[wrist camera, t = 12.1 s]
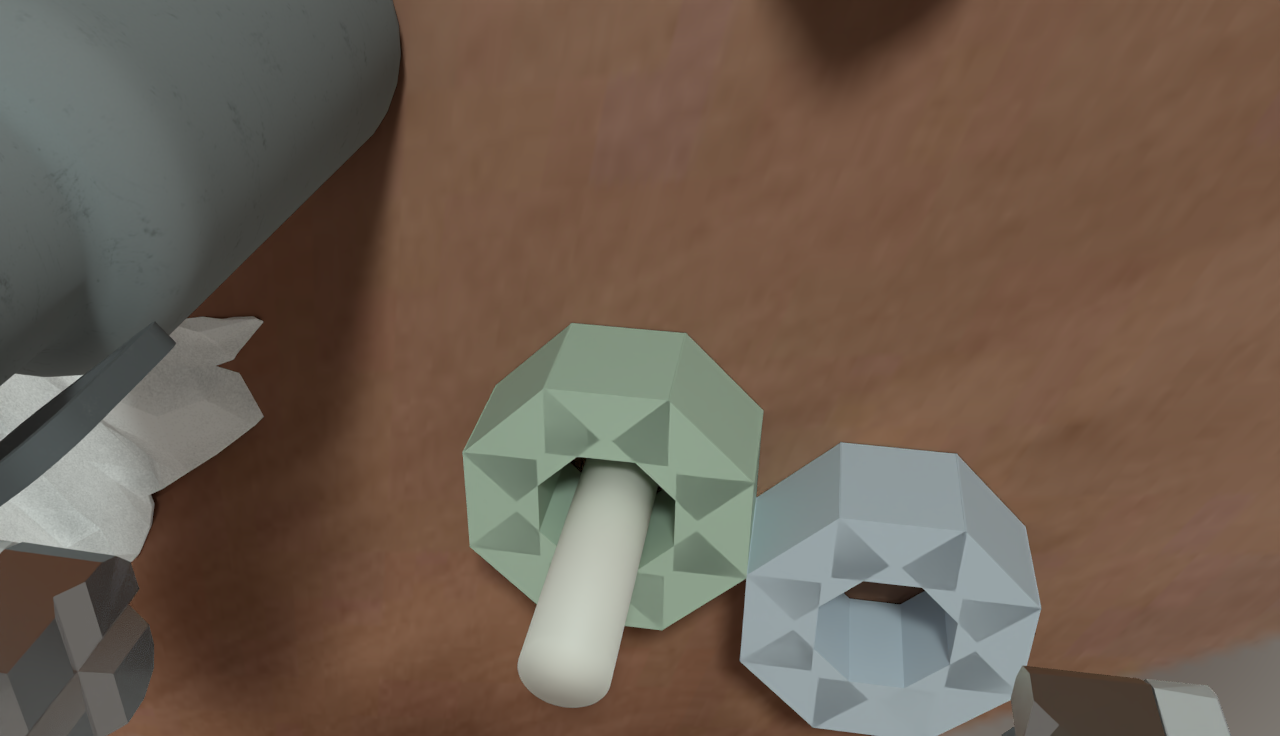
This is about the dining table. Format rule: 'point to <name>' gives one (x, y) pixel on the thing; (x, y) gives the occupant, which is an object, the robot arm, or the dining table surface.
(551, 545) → the bead
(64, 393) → the water bottle
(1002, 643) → the bead
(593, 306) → the dining table surface
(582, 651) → the dowel
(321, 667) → the dining table surface
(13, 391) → the cloth
